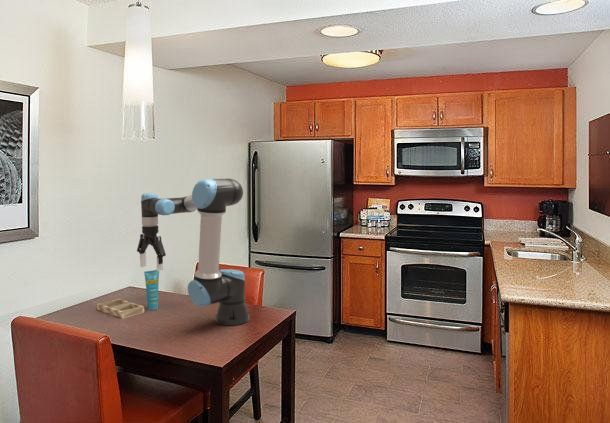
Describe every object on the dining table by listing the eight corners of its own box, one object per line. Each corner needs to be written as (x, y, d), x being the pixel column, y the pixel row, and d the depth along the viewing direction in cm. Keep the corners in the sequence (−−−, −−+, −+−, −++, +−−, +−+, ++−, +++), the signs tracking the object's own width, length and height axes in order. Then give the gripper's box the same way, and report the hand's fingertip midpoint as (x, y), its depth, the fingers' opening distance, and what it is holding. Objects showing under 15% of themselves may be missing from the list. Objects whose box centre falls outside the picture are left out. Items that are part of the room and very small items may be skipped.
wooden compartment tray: (144, 312, 224) (144, 306, 224) (122, 318, 215) (121, 312, 215) (119, 304, 237) (118, 298, 237) (97, 309, 228) (97, 303, 228)
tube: (148, 311, 226) (146, 272, 224) (143, 309, 229) (142, 270, 228) (162, 308, 231) (161, 269, 229) (157, 305, 234) (156, 268, 233)
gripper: (172, 226, 221) (173, 270, 224) (142, 222, 237) (143, 263, 239) (159, 228, 216) (160, 273, 218) (128, 223, 231) (130, 266, 233)
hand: (151, 268), depth 228 cm, fingers open, 13 cm apart
